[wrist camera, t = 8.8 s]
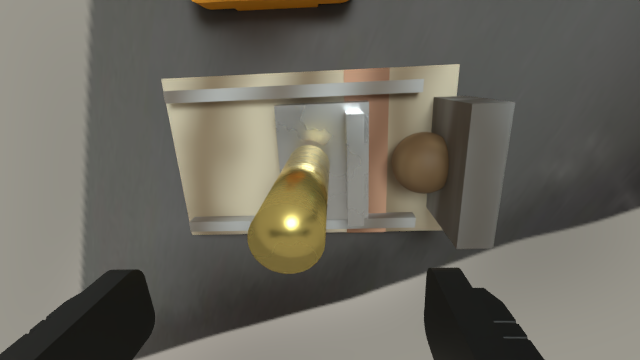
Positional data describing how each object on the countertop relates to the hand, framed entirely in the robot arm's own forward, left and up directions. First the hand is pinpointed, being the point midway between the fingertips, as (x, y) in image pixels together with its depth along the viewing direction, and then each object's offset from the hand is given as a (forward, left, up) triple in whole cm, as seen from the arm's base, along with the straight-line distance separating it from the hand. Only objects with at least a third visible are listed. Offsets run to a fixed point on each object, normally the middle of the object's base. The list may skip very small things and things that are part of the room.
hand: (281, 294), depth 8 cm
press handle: (-1, 0, -14) cm, 14 cm away
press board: (0, 0, -16) cm, 16 cm away
